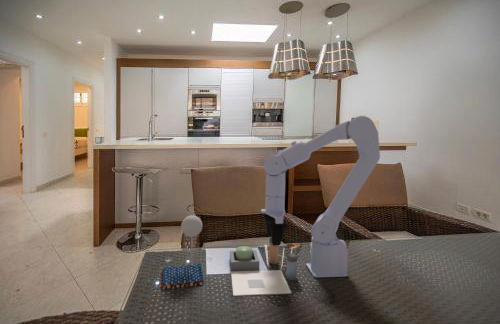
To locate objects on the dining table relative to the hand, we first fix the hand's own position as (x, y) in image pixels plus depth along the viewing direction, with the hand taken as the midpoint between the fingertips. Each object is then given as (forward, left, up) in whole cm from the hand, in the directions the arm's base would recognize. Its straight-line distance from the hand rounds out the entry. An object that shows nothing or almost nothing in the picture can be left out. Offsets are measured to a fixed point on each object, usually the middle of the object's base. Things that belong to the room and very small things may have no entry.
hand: (273, 240), depth 88 cm
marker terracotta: (0, 0, -7) cm, 7 cm away
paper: (+6, +12, -7) cm, 15 cm away
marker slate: (-3, +10, -7) cm, 12 cm away
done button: (+9, +1, -5) cm, 10 cm away
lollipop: (+24, +2, -7) cm, 25 cm away
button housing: (+9, +1, -7) cm, 11 cm away
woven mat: (+26, +8, -7) cm, 28 cm away
